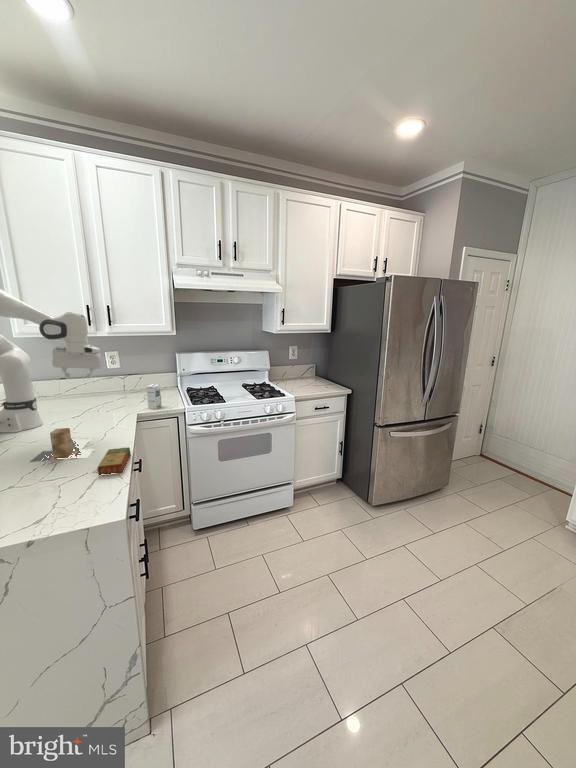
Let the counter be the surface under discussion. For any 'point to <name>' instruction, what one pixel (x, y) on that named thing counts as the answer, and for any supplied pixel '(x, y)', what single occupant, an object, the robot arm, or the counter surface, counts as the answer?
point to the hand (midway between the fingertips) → (78, 377)
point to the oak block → (61, 443)
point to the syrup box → (153, 396)
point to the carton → (114, 461)
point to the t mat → (48, 453)
